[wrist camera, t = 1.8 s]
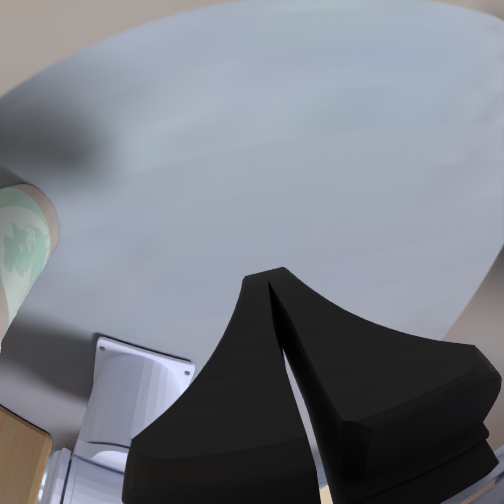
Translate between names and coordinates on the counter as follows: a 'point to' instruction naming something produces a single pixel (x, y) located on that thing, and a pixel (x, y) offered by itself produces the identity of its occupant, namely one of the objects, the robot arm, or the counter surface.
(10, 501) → the wooden block
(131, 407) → the robot arm
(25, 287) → the coffee cup
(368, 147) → the counter surface
